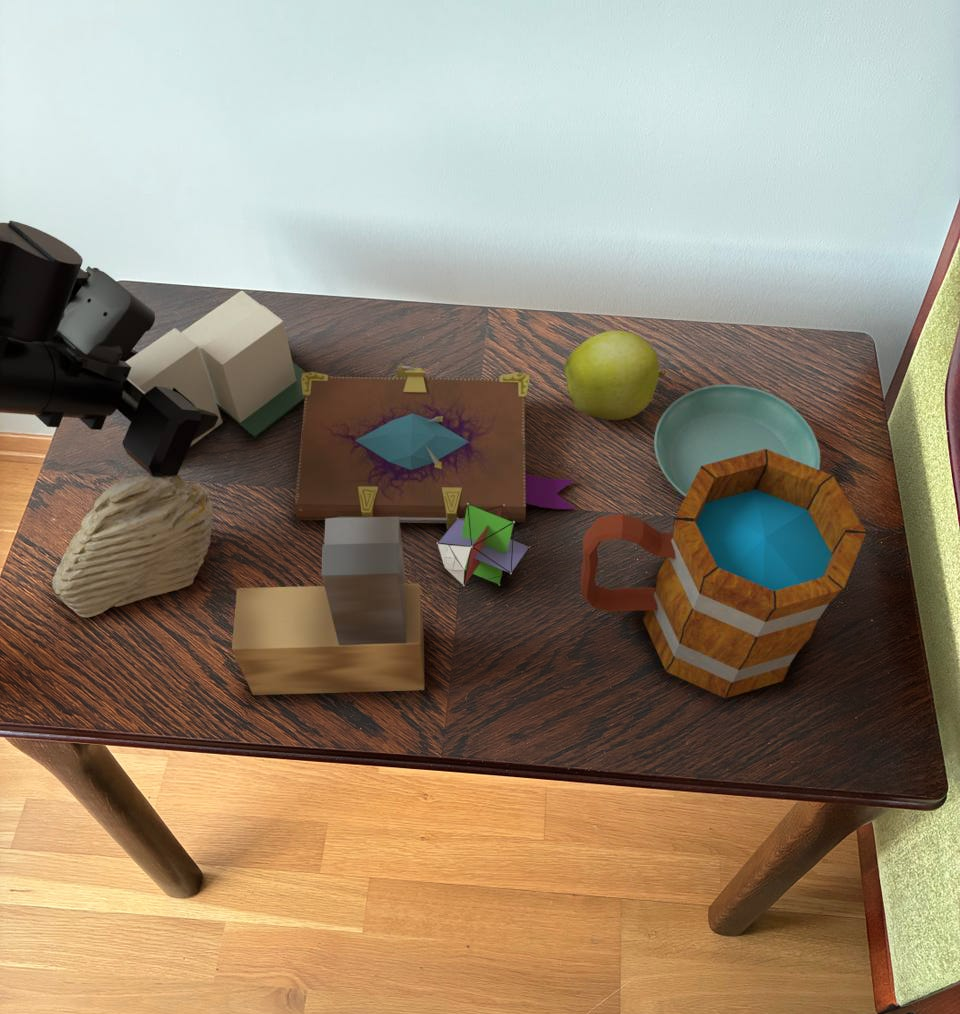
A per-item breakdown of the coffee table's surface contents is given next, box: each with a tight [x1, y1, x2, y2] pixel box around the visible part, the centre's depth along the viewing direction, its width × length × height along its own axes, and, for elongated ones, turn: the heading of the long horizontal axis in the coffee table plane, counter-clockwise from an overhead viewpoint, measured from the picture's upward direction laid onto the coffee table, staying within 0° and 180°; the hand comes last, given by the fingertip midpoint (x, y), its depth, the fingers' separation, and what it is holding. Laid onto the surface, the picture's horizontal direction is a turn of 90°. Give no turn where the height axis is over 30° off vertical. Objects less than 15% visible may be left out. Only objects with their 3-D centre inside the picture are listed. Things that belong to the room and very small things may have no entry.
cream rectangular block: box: [126, 327, 223, 448], centre depth 89 cm, size 7×3×10 cm, turn 137°
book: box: [294, 362, 576, 531], centre depth 91 cm, size 16×25×5 cm, turn 90°
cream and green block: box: [180, 290, 307, 439], centre depth 93 cm, size 8×10×8 cm
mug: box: [580, 449, 867, 699], centre depth 79 cm, size 20×14×15 cm
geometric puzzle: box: [436, 503, 531, 587], centre depth 85 cm, size 7×7×8 cm
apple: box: [563, 330, 666, 421], centre depth 92 cm, size 8×9×8 cm
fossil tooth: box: [51, 474, 214, 618], centre depth 82 cm, size 12×6×15 cm
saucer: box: [653, 383, 821, 498], centre depth 92 cm, size 15×15×3 cm
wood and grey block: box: [231, 517, 426, 696], centre depth 75 cm, size 14×5×18 cm, turn 92°
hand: (181, 392), depth 90 cm, fingers open, 9 cm apart
